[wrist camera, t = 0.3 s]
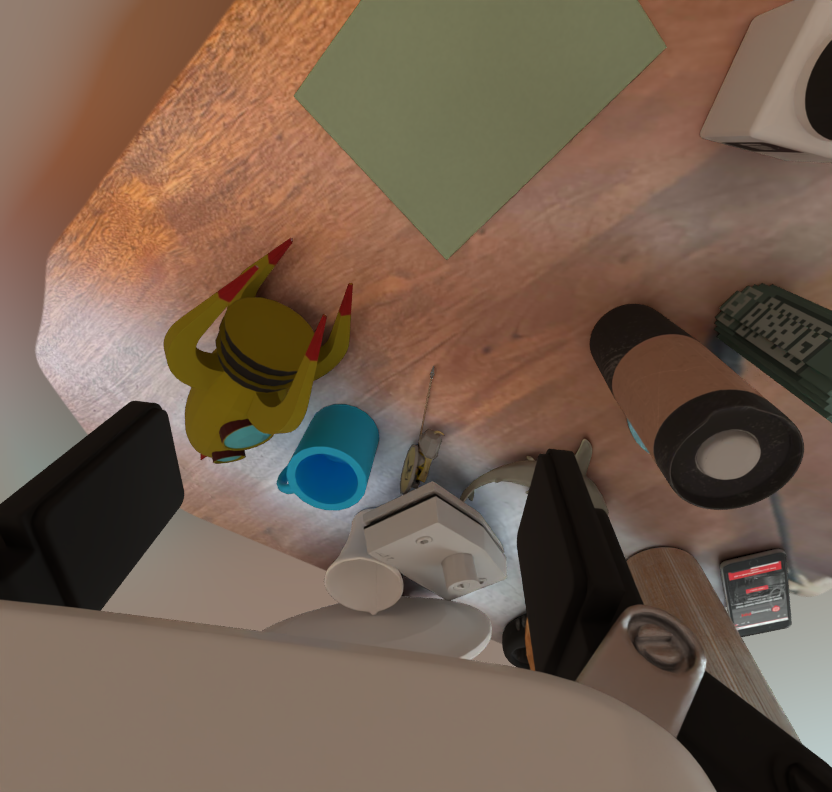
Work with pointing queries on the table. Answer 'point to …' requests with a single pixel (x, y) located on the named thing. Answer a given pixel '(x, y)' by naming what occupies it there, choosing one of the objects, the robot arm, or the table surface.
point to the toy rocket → (250, 364)
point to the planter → (705, 624)
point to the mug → (332, 459)
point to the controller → (516, 643)
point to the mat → (470, 96)
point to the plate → (399, 626)
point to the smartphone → (757, 592)
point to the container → (780, 86)
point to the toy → (420, 455)
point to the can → (783, 340)
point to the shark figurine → (525, 470)
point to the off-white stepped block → (436, 542)
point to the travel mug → (694, 411)
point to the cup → (362, 575)
